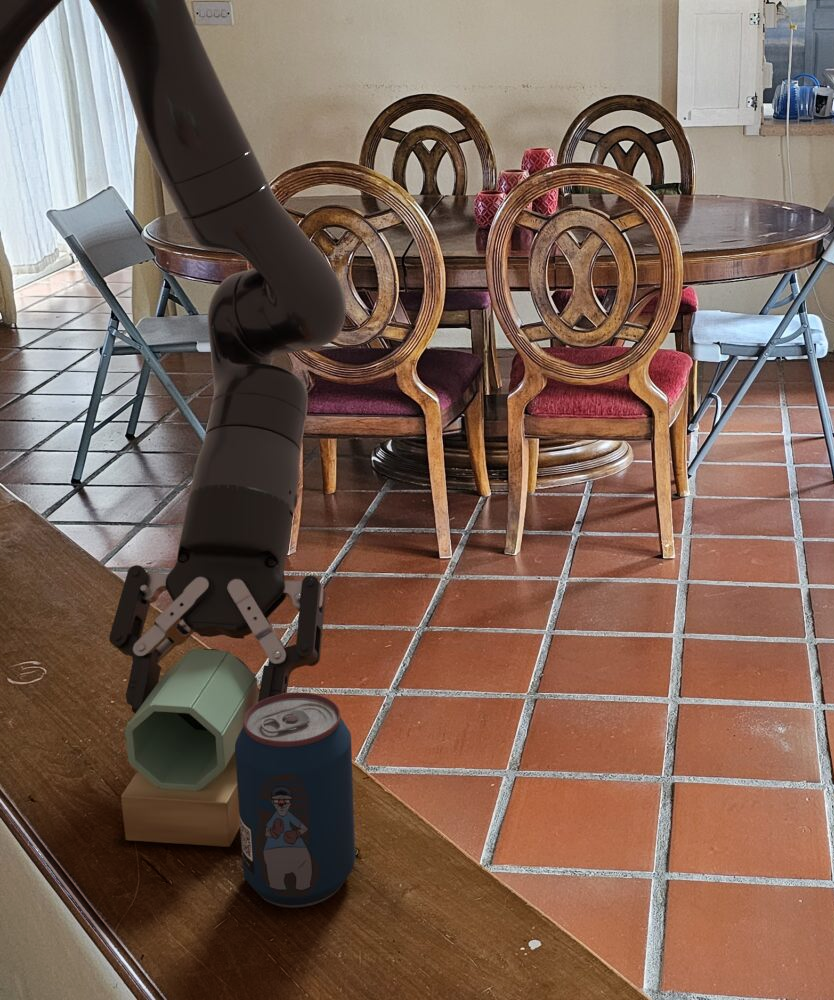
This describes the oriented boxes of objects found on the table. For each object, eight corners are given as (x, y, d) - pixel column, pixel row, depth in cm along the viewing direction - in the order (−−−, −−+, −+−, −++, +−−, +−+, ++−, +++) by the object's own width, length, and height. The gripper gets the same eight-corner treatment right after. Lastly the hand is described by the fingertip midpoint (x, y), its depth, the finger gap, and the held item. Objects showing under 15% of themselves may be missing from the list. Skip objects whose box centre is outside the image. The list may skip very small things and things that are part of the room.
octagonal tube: (173, 723, 93) (166, 643, 90) (262, 728, 92) (257, 649, 90) (130, 787, 85) (121, 702, 83) (226, 793, 85) (220, 709, 83)
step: (178, 757, 95) (174, 715, 94) (272, 763, 95) (270, 721, 93) (125, 840, 86) (120, 796, 84) (230, 847, 85) (226, 802, 84)
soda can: (330, 833, 87) (324, 677, 83) (373, 891, 82) (369, 727, 78) (229, 866, 84) (216, 704, 79) (267, 929, 78) (256, 759, 74)
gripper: (129, 475, 92) (79, 698, 86) (328, 486, 92) (293, 711, 85) (162, 516, 99) (118, 725, 92) (348, 526, 98) (316, 737, 92)
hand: (202, 718), depth 89 cm, fingers open, 8 cm apart
